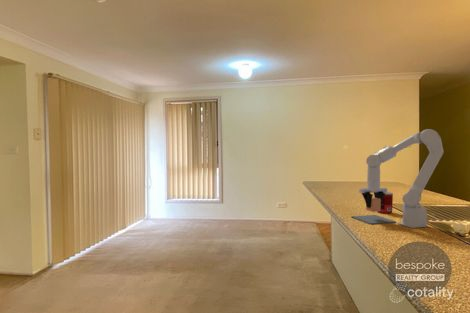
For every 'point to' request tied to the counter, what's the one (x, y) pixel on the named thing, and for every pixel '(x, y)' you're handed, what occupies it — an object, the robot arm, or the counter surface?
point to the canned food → (386, 203)
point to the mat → (373, 219)
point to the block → (374, 205)
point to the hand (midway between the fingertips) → (373, 207)
